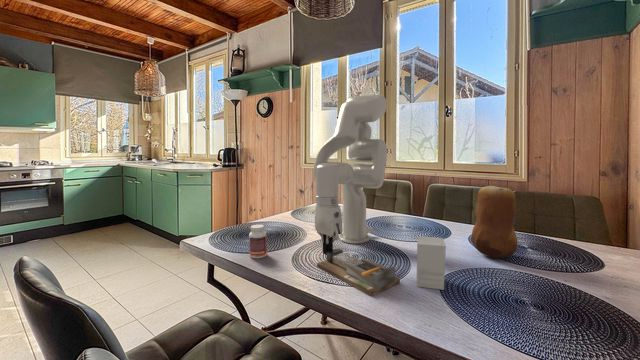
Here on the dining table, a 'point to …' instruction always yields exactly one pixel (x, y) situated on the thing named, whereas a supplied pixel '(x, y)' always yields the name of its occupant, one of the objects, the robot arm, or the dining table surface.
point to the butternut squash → (495, 222)
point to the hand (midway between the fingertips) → (327, 253)
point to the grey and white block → (343, 259)
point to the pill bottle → (257, 242)
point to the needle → (371, 271)
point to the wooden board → (366, 283)
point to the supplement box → (430, 262)
